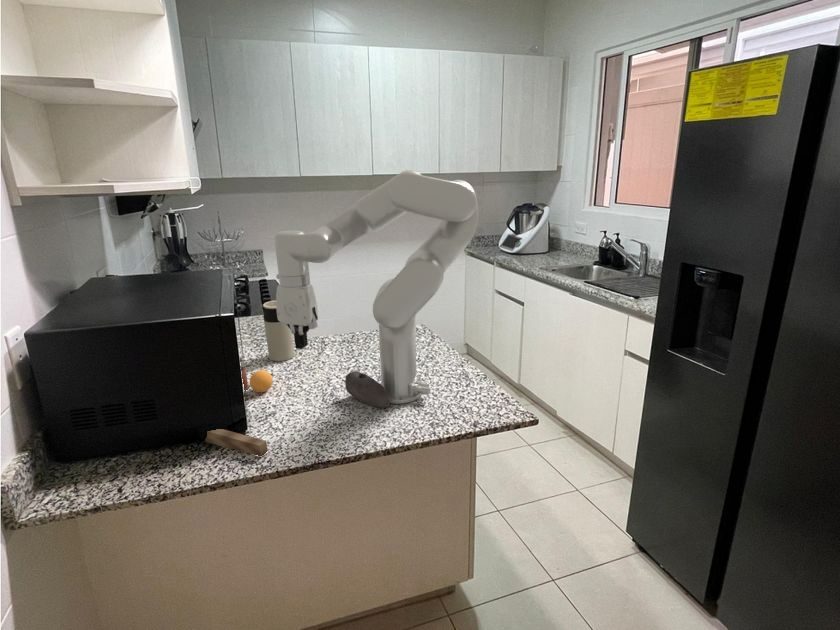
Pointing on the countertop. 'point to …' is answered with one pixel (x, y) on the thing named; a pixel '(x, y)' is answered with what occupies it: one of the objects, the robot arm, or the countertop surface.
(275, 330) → the travel mug
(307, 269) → the robot arm
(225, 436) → the wall
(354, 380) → the perforated stone tool
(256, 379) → the ball
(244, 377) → the lighter
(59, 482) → the countertop surface
